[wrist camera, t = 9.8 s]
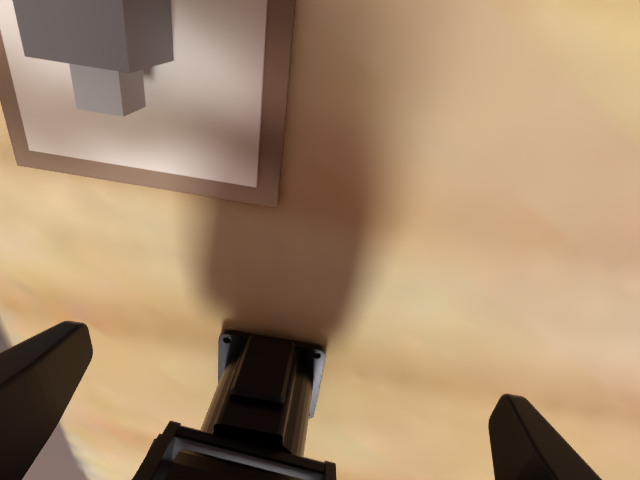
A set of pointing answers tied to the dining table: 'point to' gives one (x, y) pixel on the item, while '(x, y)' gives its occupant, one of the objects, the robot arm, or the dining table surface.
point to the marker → (100, 46)
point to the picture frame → (167, 106)
